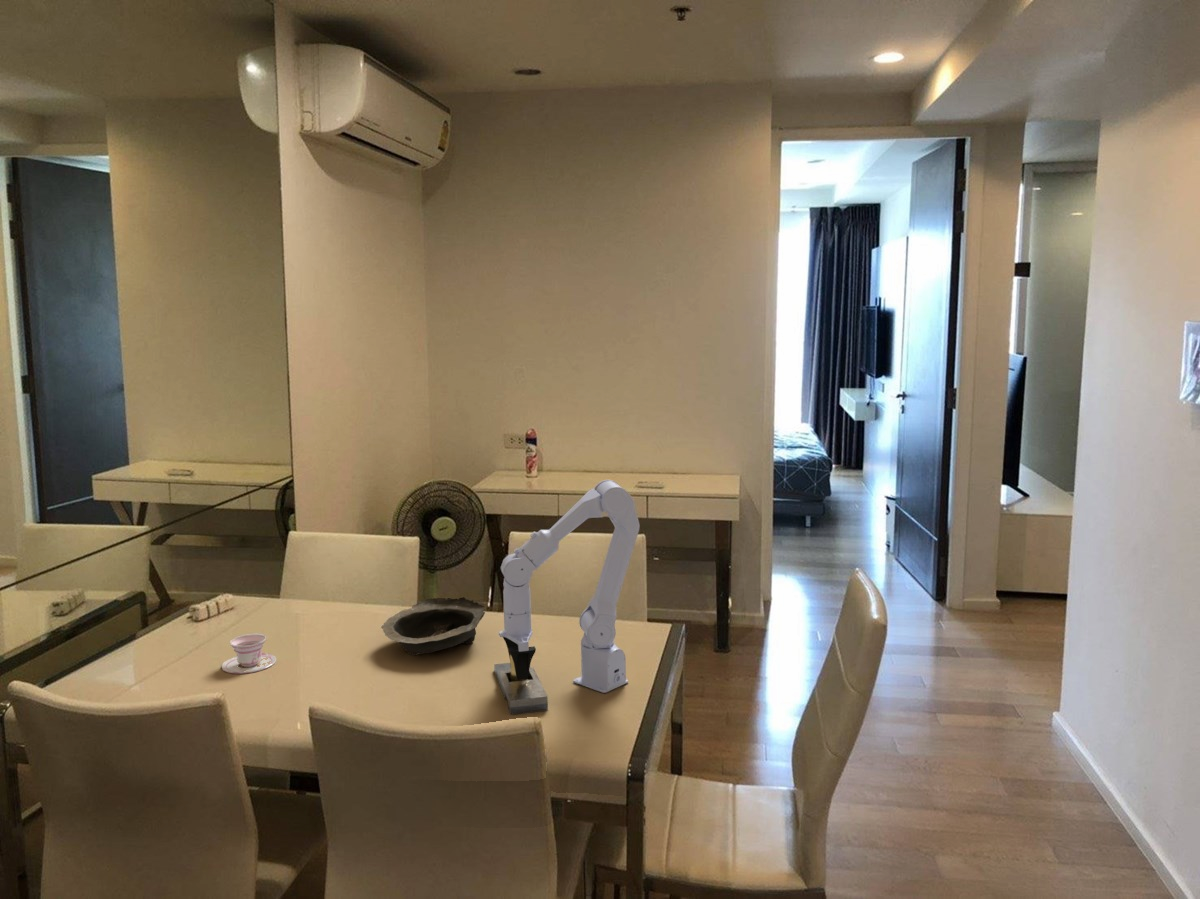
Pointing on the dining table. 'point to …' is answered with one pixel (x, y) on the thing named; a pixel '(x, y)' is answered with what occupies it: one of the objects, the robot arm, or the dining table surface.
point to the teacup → (248, 654)
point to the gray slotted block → (521, 691)
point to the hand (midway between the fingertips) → (519, 672)
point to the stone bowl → (434, 624)
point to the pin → (513, 673)
